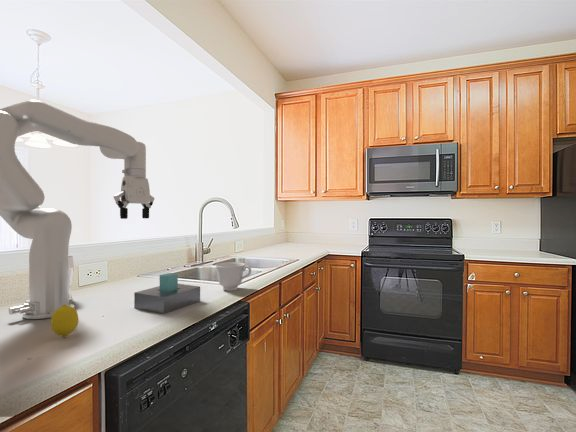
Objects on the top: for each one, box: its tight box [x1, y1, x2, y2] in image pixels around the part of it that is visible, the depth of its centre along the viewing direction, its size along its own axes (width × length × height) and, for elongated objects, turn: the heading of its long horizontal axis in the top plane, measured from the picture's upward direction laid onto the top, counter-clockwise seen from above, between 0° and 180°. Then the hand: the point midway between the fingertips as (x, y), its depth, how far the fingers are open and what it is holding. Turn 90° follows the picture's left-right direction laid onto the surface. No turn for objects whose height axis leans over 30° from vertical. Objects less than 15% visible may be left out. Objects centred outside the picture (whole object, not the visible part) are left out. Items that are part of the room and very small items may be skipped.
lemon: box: [50, 305, 79, 338], centre depth 78 cm, size 6×6×8 cm
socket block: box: [133, 283, 201, 315], centre depth 107 cm, size 16×13×5 cm
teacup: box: [214, 261, 252, 292], centre depth 128 cm, size 12×15×10 cm
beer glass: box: [68, 255, 74, 302], centre depth 111 cm, size 7×7×15 cm
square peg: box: [159, 272, 179, 292], centre depth 107 cm, size 4×4×10 cm
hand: (135, 218), depth 124 cm, fingers open, 9 cm apart
